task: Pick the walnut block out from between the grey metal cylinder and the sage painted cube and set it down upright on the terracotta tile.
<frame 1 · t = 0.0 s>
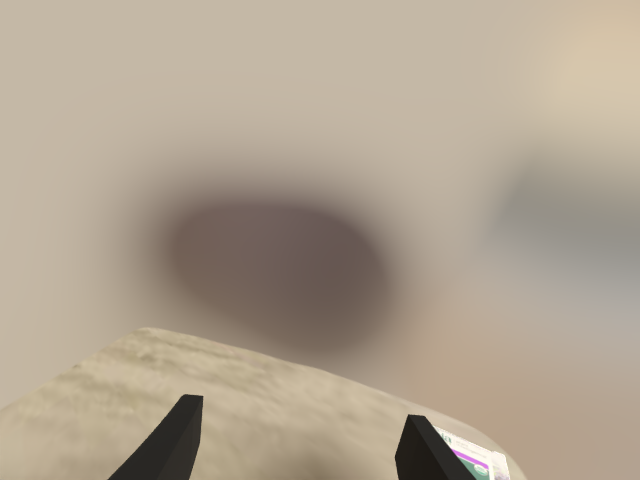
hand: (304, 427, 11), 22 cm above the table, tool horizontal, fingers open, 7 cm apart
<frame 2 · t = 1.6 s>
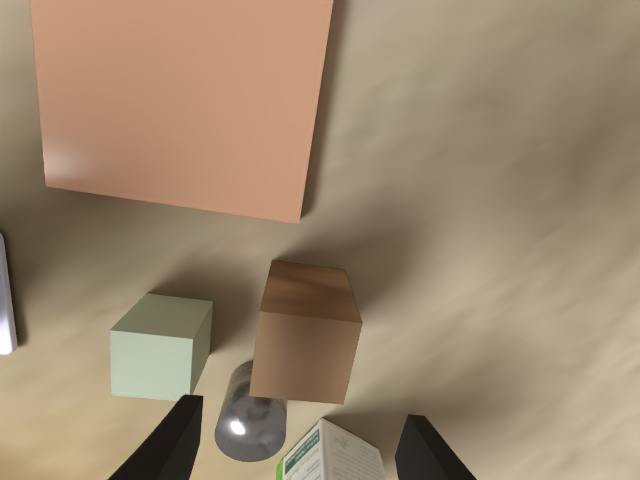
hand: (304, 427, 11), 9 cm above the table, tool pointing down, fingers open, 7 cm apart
terracotta tile: (189, 75, 16), on the table
syrup box: (329, 453, 24), on the table
walnut block: (303, 297, 20), on the table
grey metal cylinder: (259, 384, 22), on the table
sage painted cube: (179, 324, 20), on the table
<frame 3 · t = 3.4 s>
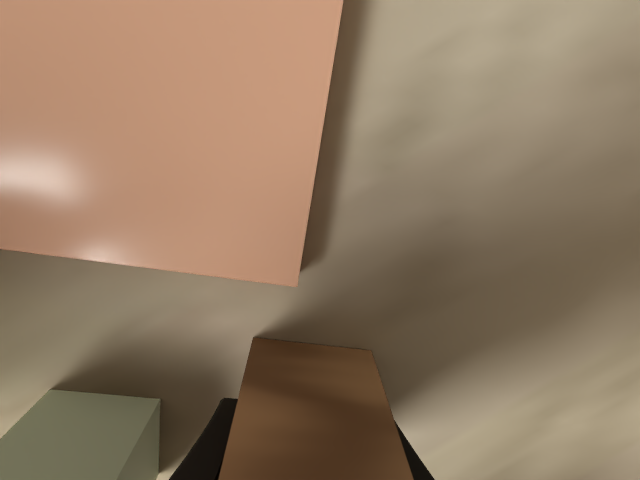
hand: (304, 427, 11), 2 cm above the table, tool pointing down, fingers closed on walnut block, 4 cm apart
terracotta tile: (90, 19, 8), on the table
walnut block: (304, 392, 13), on the table, touching gripper
sage painted cube: (108, 432, 13), on the table
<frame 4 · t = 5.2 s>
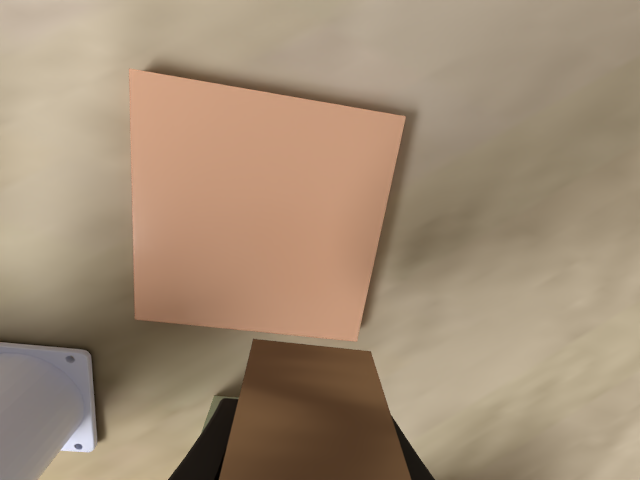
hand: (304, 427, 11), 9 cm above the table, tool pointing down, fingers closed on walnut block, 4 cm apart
terracotta tile: (262, 220, 18), on the table
walnut block: (304, 392, 13), point 7 cm above the table, touching gripper
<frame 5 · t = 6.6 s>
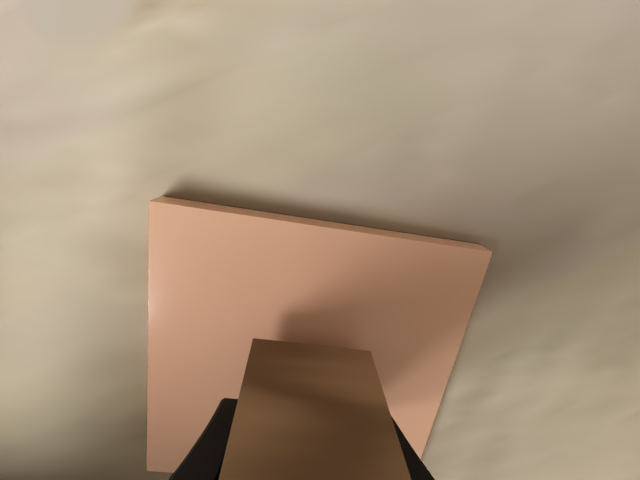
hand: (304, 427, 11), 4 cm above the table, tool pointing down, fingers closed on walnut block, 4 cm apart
terracotta tile: (304, 356, 15), on the table
walnut block: (303, 392, 13), point 2 cm above the table, touching gripper
when the fingers open (4 cm above the table, at t = 7.4 s): walnut block drops 1 cm, resting on terracotta tile.
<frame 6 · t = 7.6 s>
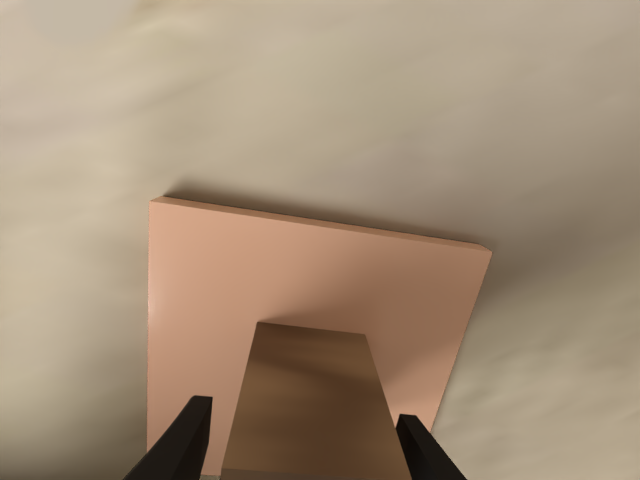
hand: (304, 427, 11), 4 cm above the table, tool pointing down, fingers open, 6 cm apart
terracotta tile: (303, 356, 15), on the table
walnut block: (303, 372, 14), point 1 cm above the table, touching terracotta tile
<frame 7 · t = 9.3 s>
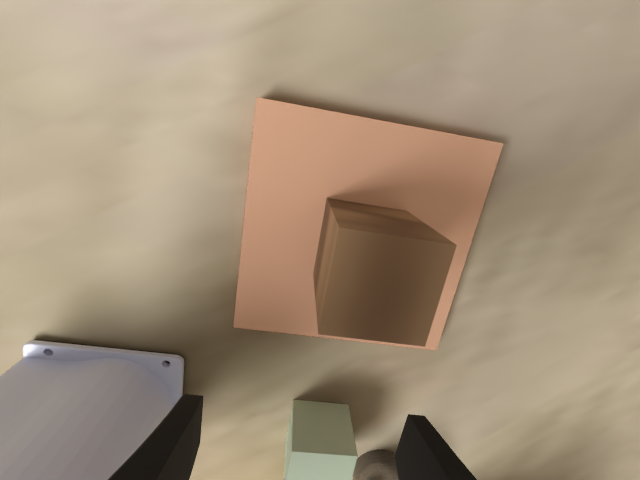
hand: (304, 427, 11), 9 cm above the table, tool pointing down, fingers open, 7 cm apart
terracotta tile: (356, 236, 19), on the table
walnut block: (358, 242, 18), point 1 cm above the table, touching terracotta tile
grey metal cylinder: (377, 468, 25), on the table
sage painted cube: (316, 422, 23), on the table
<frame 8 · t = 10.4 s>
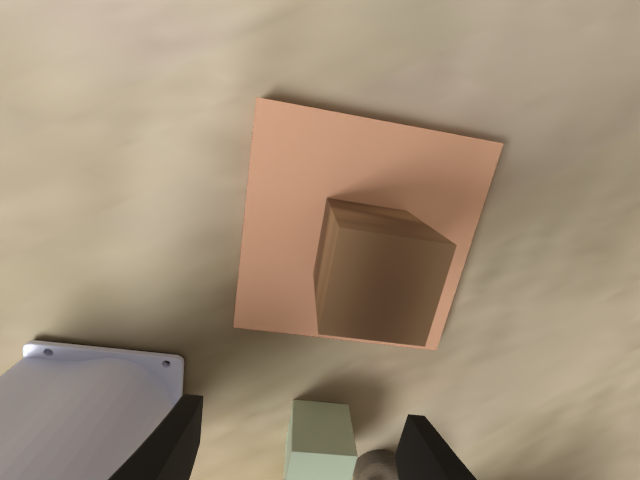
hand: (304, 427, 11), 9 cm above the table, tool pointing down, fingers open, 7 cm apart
terracotta tile: (356, 236, 19), on the table
walnut block: (358, 242, 18), point 1 cm above the table, touching terracotta tile
grey metal cylinder: (377, 468, 25), on the table
sage painted cube: (316, 422, 23), on the table
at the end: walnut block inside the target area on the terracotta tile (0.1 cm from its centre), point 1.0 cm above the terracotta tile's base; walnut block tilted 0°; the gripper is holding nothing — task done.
